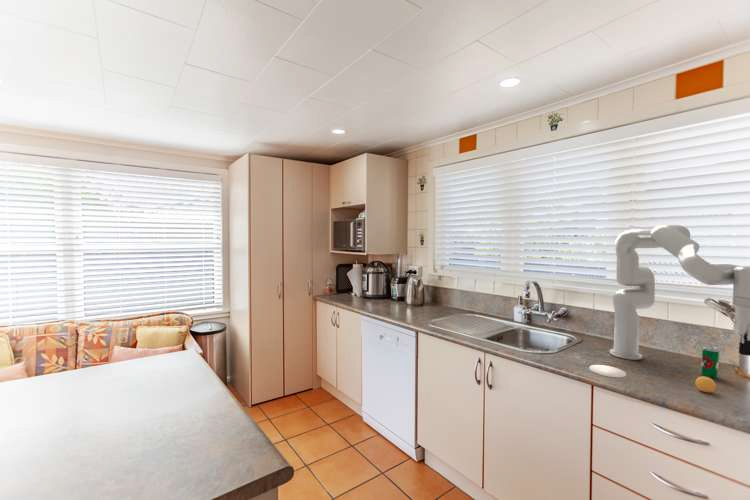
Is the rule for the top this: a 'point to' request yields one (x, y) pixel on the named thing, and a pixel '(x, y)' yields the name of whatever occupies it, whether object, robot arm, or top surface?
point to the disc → (607, 371)
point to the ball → (705, 384)
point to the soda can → (710, 361)
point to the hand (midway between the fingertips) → (746, 354)
